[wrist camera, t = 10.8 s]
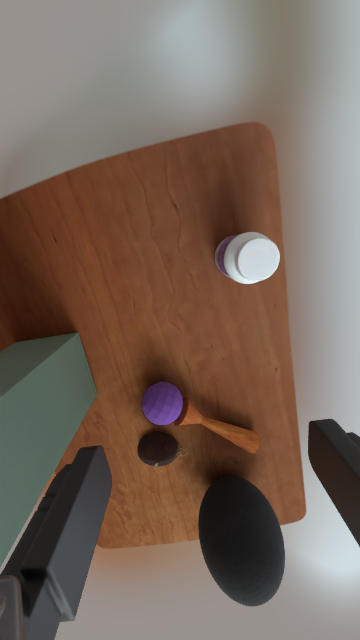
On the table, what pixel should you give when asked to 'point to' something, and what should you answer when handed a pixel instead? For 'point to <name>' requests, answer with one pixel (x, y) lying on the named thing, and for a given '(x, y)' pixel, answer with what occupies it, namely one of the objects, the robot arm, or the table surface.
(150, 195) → the table surface
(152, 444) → the compass
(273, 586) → the decorative egg
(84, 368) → the trash can
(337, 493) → the robot arm
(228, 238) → the pill bottle
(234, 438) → the kendama
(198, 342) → the table surface
